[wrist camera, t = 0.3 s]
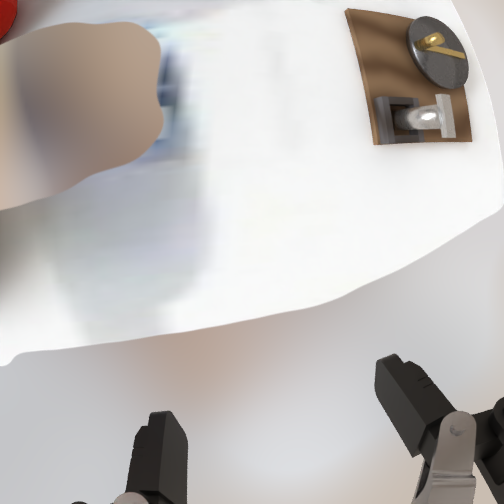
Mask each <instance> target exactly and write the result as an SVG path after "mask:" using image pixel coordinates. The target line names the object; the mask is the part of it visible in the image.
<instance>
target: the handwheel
mask: <svg viewBox="0 0 504 504" xmlns="http://www.w3.org/2000/svg"><path fill="white" fill-rule="evenodd" d="M406 44H407V48H408V51H409V54H410V56H411V58H412V60H413V62H414V64H415V66H416V67H417V69H418V70H419V71H420V73H421V74H422V75H423V76H424V77H425V78H426V79H427V80H428V81H429V82H430V83H432V84H433V85H435V86H437V87H439V88H441V89H446V90H449V89H456V88H459V87H461V86H463V85H464V84H465V82H466V80H467V78H468V71H469V67H468V60H467V56H466V53H465V51H464V48H463V46H462V44H461V42H460V41H459V39H458V38H457V36H456V35H455V34H454V33H453V31H452V30H451V29H450V28H449V27H448V26H446V25H445V24H444V23H442V22H441V21H439V20H437V19H435V18H432V17H428V16H424V17H420V18H418V19H416V20H414V21H412V22H411V23H410V24H409V25H408V27H407V30H406Z"/></svg>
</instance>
